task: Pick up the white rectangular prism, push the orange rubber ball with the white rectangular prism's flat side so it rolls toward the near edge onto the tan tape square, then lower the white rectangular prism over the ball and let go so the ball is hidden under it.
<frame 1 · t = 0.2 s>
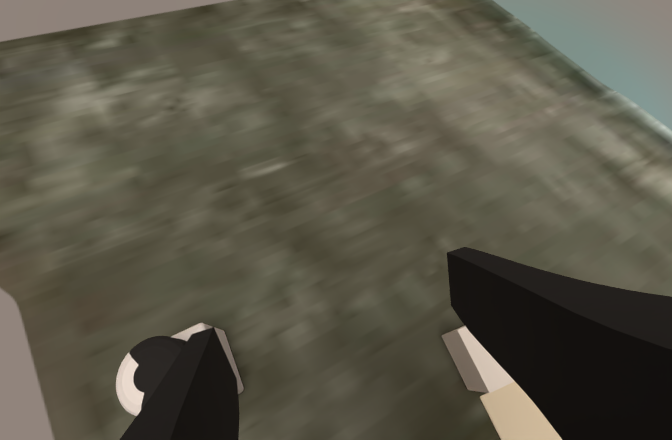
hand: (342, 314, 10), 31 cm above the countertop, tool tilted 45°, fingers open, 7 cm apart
white rectangular prism: (491, 345, 39), on the countertop
medicine bottle: (204, 374, 39), on the countertop
mark: (546, 427, 36), on the countertop
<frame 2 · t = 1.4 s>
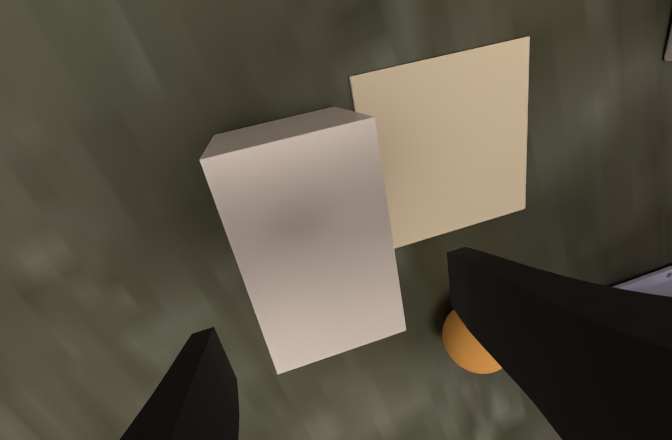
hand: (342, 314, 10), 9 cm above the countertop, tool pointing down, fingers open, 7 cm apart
white rectangular prism: (299, 209, 19), on the countertop
mark: (447, 151, 20), on the countertop
ball: (477, 336, 23), on the countertop
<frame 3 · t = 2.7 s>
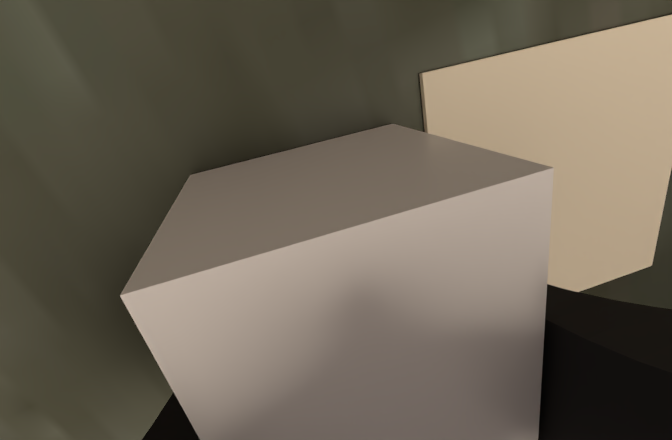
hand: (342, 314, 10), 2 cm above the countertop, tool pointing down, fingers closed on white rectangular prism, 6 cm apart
white rectangular prism: (329, 285, 12), on the countertop, touching gripper
mark: (557, 188, 13), on the countertop
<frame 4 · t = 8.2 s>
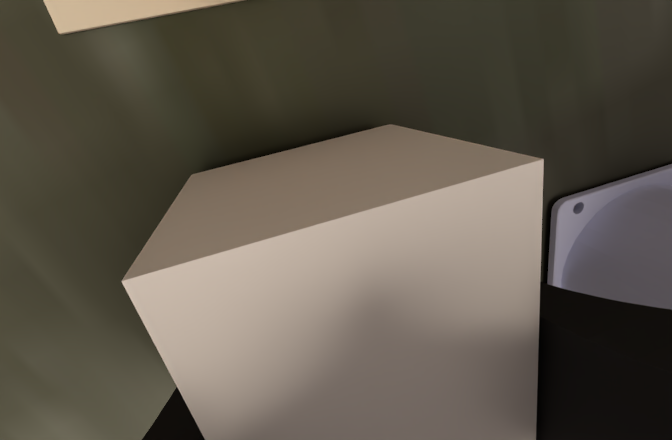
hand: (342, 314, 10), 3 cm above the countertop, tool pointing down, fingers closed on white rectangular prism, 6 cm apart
white rectangular prism: (329, 284, 12), point 1 cm above the countertop, touching gripper
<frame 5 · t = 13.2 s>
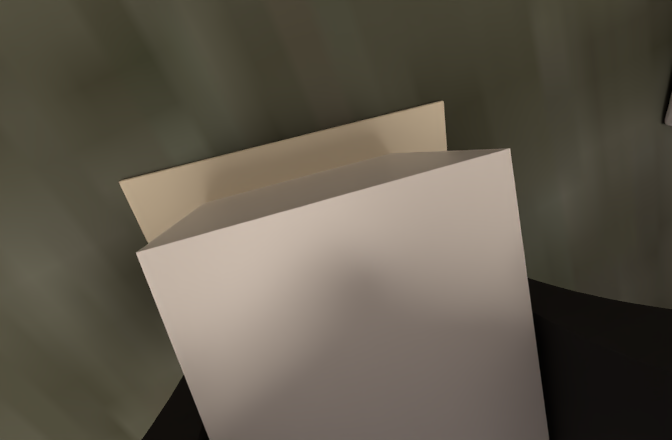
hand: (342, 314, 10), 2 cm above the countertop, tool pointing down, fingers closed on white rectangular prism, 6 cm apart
white rectangular prism: (336, 310, 12), point 1 cm above the countertop, tilted 11°, touching gripper
mark: (325, 274, 13), on the countertop
when the fingers open (2 cm above the countertop, at t = 13.9 s): white rectangular prism stays where it is, on the countertop.
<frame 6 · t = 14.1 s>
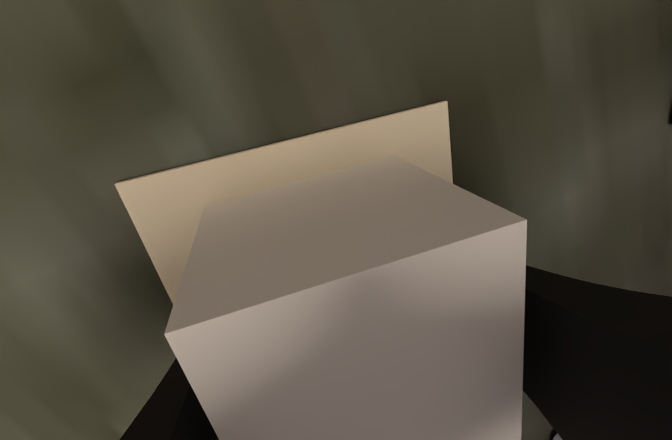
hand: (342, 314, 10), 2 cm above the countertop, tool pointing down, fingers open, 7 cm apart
white rectangular prism: (332, 300, 13), on the countertop
mark: (326, 277, 12), on the countertop
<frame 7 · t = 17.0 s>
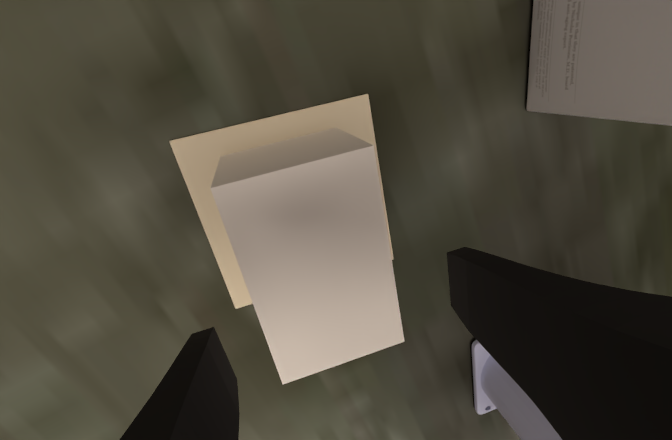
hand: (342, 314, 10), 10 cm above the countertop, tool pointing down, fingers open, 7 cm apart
white rectangular prism: (301, 224, 20), on the countertop
supplement box: (592, 20, 20), on the countertop
mark: (296, 207, 19), on the countertop
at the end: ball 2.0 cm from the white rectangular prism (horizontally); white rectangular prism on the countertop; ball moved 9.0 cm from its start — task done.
